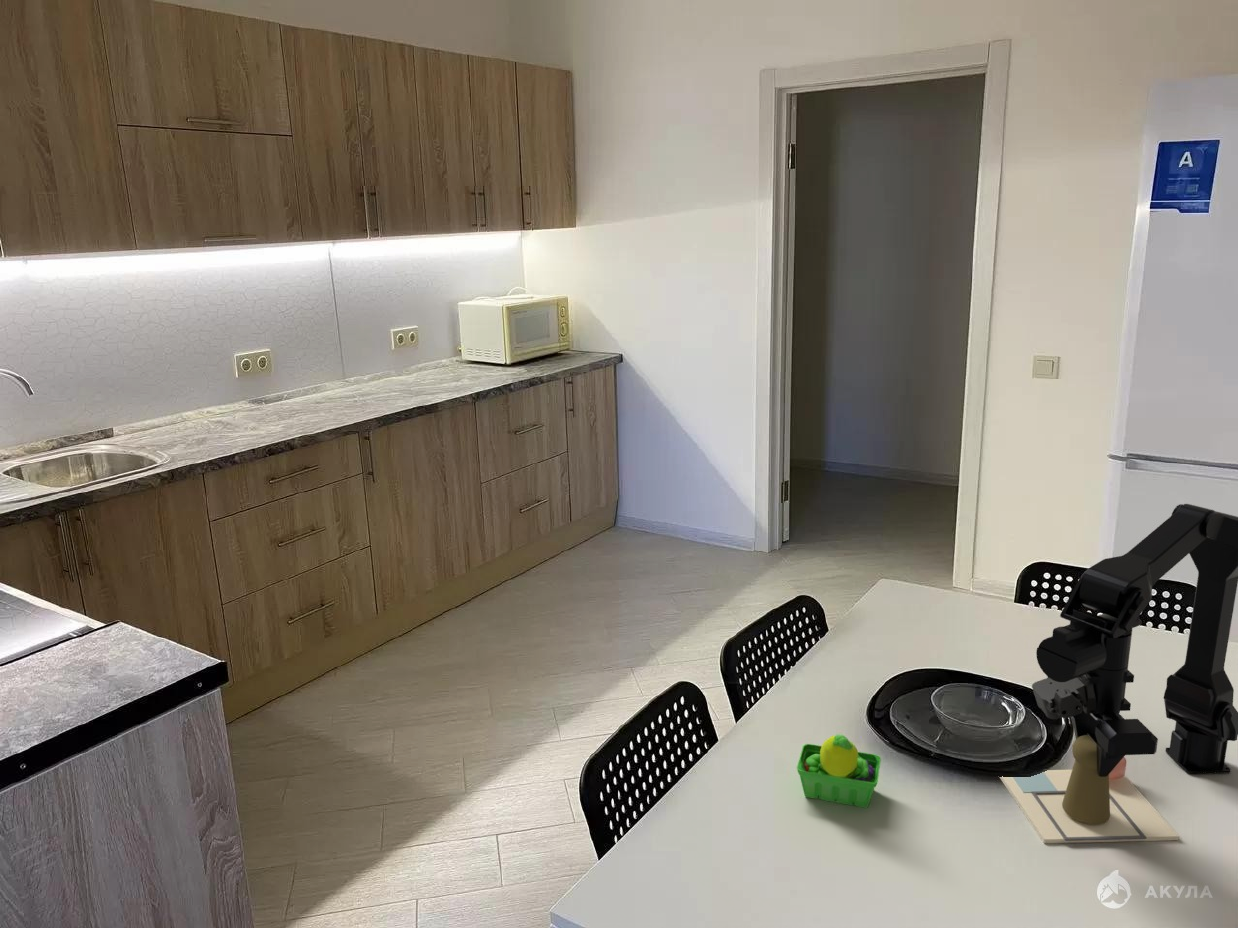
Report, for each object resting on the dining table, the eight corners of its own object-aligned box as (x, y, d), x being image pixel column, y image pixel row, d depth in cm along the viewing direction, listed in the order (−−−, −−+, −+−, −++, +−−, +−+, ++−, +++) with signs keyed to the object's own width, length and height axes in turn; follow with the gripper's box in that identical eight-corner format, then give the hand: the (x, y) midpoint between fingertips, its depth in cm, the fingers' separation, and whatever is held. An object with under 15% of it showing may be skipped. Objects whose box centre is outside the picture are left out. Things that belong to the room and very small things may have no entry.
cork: (1115, 825, 129) (1125, 755, 126) (1068, 821, 130) (1076, 751, 127) (1103, 798, 135) (1112, 730, 132) (1057, 794, 136) (1065, 726, 133)
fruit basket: (880, 784, 142) (883, 716, 139) (875, 820, 134) (878, 748, 131) (802, 772, 145) (804, 705, 142) (793, 805, 137) (795, 736, 134)
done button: (1114, 759, 143) (1115, 747, 143) (1131, 778, 138) (1133, 766, 138) (1080, 760, 143) (1082, 748, 143) (1097, 779, 138) (1098, 767, 138)
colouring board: (1118, 771, 143) (1118, 766, 143) (1180, 841, 127) (1181, 836, 127) (998, 774, 143) (998, 769, 143) (1045, 845, 127) (1045, 839, 127)
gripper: (1014, 632, 135) (1006, 730, 139) (1075, 697, 117) (1064, 807, 121) (1093, 629, 135) (1083, 727, 139) (1166, 694, 117) (1152, 805, 121)
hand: (1092, 764), depth 130 cm, fingers closed on cork, 5 cm apart
